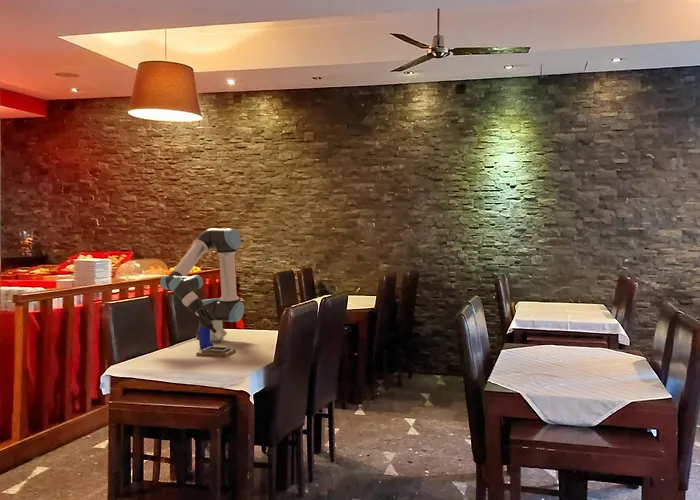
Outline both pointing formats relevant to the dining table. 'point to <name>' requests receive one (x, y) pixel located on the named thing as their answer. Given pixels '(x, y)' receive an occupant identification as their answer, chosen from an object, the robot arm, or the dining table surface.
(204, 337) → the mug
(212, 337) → the sleeve
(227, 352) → the socket board
